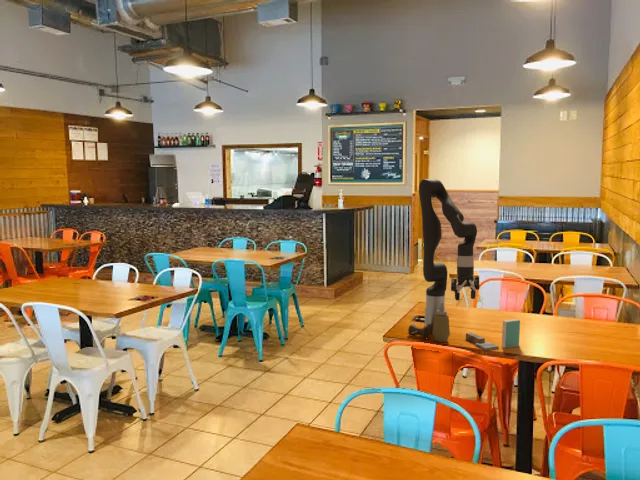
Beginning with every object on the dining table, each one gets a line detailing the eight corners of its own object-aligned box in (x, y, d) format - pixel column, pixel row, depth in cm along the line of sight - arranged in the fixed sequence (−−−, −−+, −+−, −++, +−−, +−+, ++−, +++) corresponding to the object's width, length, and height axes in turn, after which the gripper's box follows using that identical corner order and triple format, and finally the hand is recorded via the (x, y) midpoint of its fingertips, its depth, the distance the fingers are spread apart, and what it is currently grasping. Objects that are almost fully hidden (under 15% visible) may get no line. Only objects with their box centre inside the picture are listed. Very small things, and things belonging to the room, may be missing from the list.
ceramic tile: (501, 346, 244) (502, 320, 243) (515, 344, 247) (517, 318, 246) (505, 347, 242) (506, 321, 241) (519, 345, 245) (520, 320, 243)
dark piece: (462, 339, 254) (462, 333, 254) (474, 338, 257) (474, 332, 256) (485, 350, 238) (485, 344, 238) (498, 348, 241) (498, 342, 241)
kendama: (443, 334, 264) (419, 342, 250) (427, 331, 271) (402, 338, 257) (444, 322, 263) (419, 329, 250) (427, 319, 270) (402, 325, 257)
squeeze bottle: (428, 339, 255) (429, 301, 252) (443, 337, 257) (444, 300, 255) (438, 344, 247) (439, 305, 245) (453, 342, 250) (454, 304, 248)
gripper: (472, 263, 257) (472, 297, 259) (447, 265, 252) (447, 299, 253) (483, 265, 250) (482, 299, 252) (457, 267, 245) (457, 302, 247)
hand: (465, 299), depth 253 cm, fingers open, 8 cm apart
